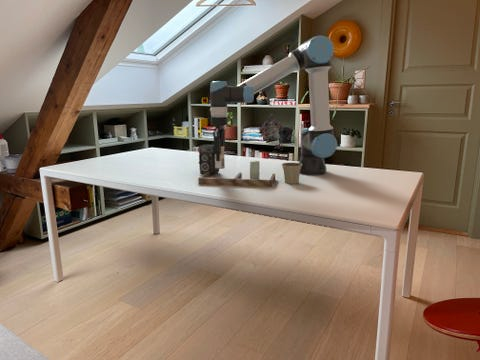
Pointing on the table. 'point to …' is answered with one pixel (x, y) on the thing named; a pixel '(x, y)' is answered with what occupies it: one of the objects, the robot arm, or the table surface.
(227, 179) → the rack
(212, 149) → the camera
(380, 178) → the table surface
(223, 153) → the beech post
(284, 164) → the flower pot
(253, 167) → the sage post
